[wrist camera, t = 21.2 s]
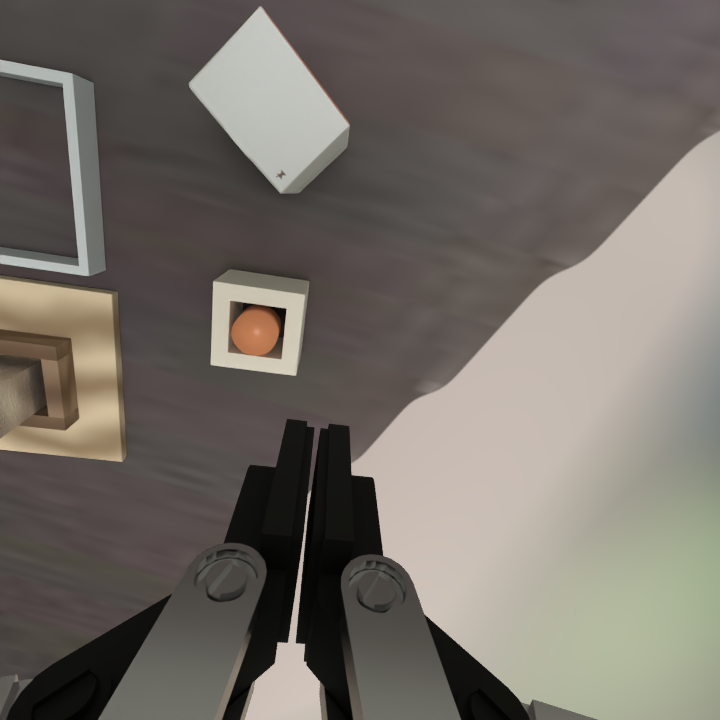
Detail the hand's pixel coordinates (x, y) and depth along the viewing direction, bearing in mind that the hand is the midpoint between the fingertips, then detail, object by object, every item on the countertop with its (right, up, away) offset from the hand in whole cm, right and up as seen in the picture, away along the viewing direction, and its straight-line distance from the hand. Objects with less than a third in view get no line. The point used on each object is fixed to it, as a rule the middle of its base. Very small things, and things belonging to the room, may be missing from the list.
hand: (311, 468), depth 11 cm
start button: (-8, +6, +28) cm, 30 cm away
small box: (-5, +23, +26) cm, 35 cm away
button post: (-8, +8, +32) cm, 34 cm away
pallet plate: (-34, +2, +33) cm, 47 cm away
